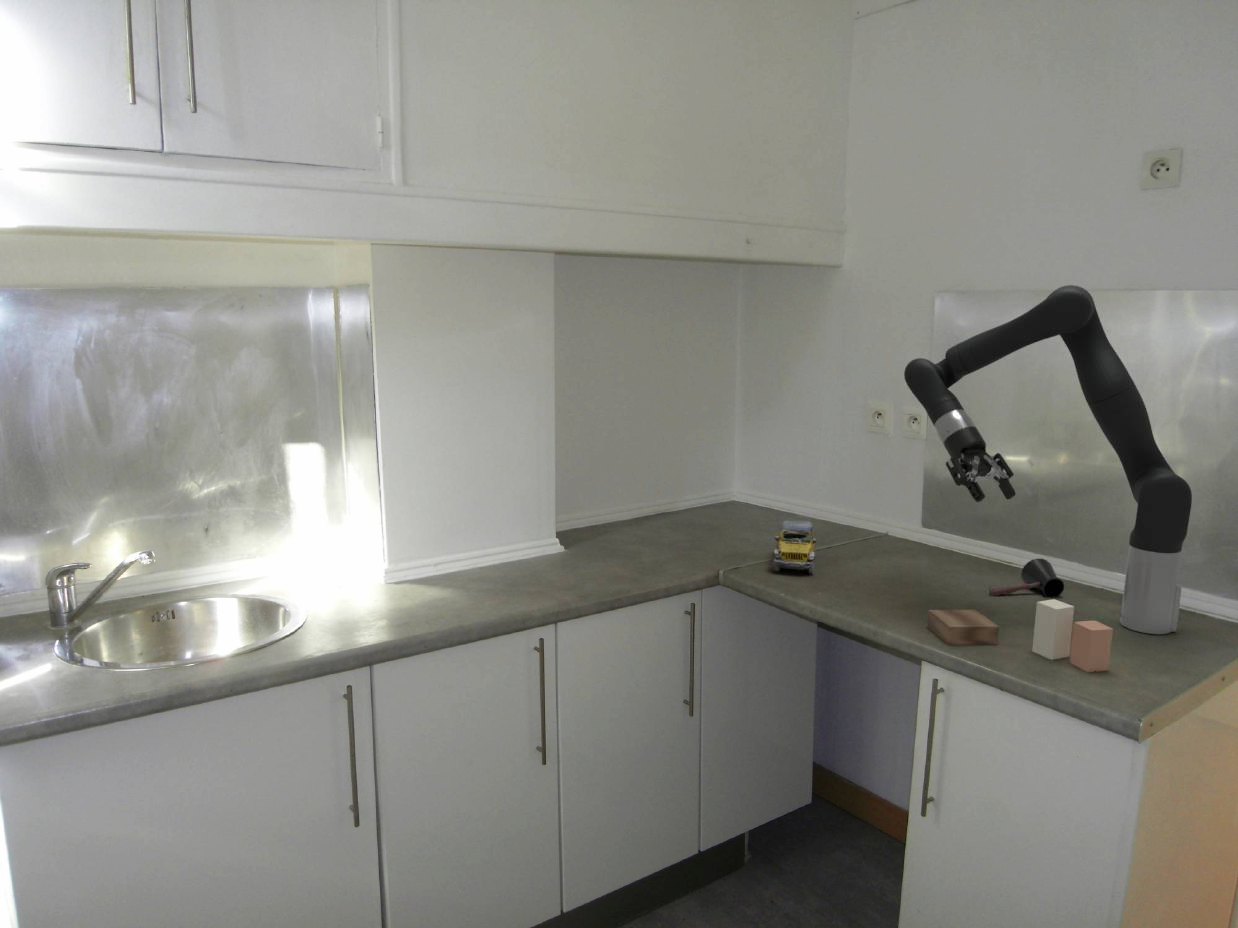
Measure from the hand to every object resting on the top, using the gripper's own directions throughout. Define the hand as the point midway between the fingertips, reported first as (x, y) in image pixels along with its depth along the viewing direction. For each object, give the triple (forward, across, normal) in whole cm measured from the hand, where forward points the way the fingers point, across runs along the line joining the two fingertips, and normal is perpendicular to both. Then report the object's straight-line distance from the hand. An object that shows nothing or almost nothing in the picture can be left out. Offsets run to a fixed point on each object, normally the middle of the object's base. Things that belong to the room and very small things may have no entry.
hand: (996, 498), depth 177 cm
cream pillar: (+32, -2, +6) cm, 32 cm away
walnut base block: (+22, -10, +16) cm, 29 cm away
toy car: (-16, -12, +56) cm, 60 cm away
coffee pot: (+11, +25, +28) cm, 39 cm away
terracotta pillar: (+36, 0, +1) cm, 37 cm away
